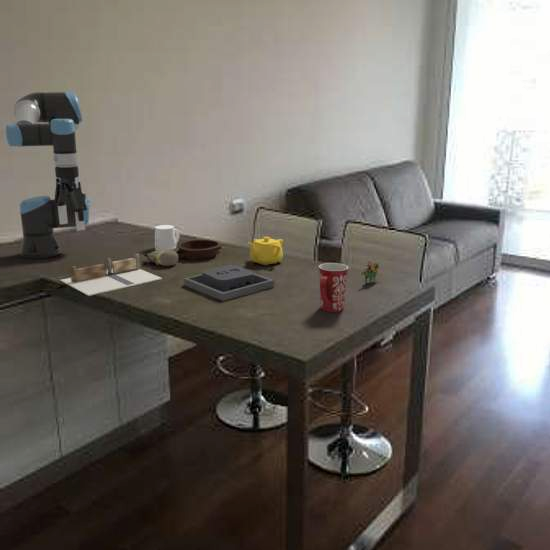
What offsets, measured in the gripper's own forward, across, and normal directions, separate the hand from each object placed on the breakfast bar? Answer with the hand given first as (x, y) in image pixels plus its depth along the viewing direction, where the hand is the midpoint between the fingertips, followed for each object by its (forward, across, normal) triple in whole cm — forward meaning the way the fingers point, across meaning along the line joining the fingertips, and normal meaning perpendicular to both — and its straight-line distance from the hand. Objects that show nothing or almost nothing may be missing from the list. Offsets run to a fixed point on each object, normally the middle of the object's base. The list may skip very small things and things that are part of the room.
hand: (72, 227), depth 212 cm
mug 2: (+19, +84, +42) cm, 96 cm away
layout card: (+19, +11, +8) cm, 23 cm away
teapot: (+19, +31, +63) cm, 73 cm away
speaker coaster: (+18, +44, +34) cm, 59 cm away
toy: (+19, +4, +33) cm, 39 cm away
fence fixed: (+19, +6, +16) cm, 25 cm away
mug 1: (+19, -14, +48) cm, 54 cm away
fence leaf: (+18, +6, +2) cm, 19 cm away
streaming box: (+19, +44, +34) cm, 59 cm away
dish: (+19, +5, +51) cm, 54 cm away
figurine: (+19, +75, +73) cm, 106 cm away
